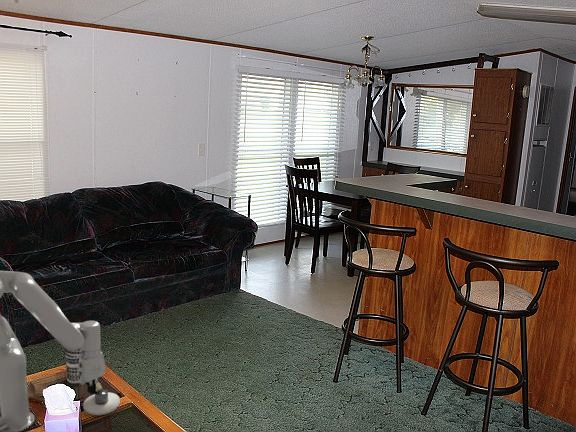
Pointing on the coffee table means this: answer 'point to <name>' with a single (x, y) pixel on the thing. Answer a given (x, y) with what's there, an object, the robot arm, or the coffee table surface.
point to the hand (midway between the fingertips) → (91, 392)
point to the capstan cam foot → (100, 395)
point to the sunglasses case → (36, 392)
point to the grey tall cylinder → (72, 365)
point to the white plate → (103, 409)
